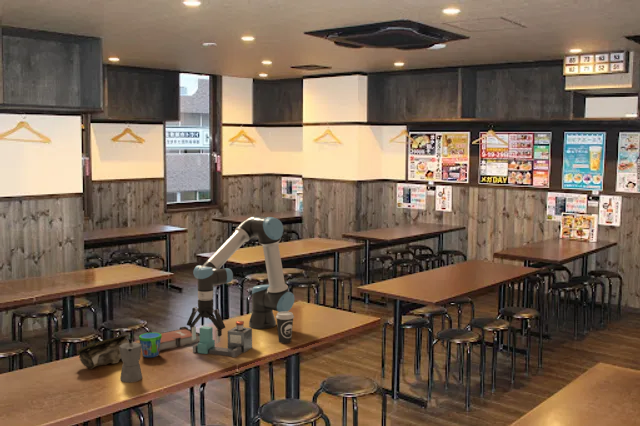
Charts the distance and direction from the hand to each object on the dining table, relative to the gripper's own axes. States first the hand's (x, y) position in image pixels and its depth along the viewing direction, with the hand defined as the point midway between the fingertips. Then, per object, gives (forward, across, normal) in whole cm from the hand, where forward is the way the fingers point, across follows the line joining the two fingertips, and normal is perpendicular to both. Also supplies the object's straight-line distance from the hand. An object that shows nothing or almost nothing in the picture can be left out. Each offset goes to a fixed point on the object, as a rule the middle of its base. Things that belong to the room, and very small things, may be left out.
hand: (206, 341), depth 321 cm
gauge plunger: (-2, +14, +9) cm, 17 cm away
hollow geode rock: (+6, -36, -32) cm, 48 cm away
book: (+6, -24, +6) cm, 26 cm away
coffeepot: (+6, -12, -44) cm, 46 cm away
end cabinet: (+5, +14, +9) cm, 18 cm away
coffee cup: (+5, +30, +29) cm, 42 cm away
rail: (+5, +6, 0) cm, 8 cm away
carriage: (+5, 0, 0) cm, 5 cm away
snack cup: (+6, -22, -15) cm, 27 cm away
